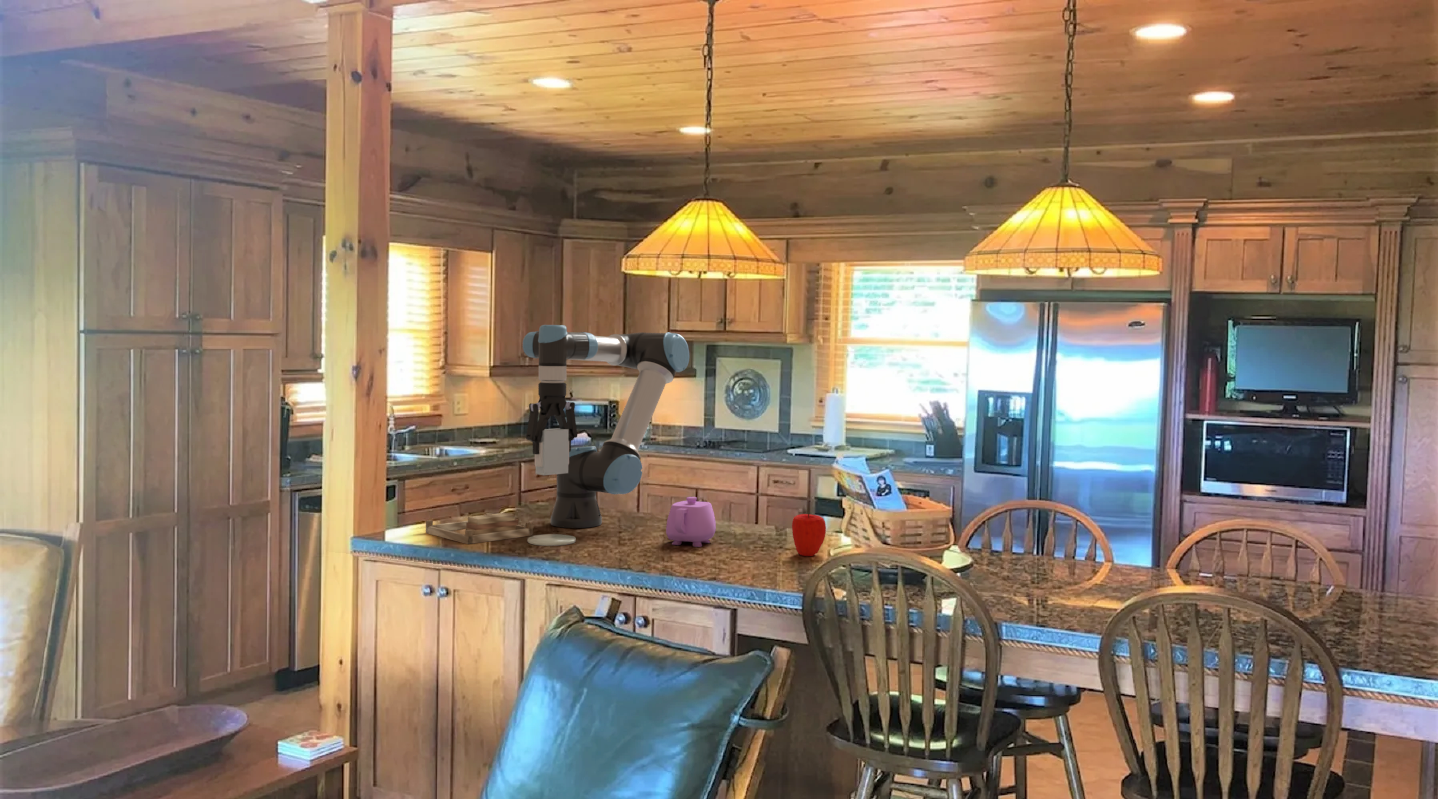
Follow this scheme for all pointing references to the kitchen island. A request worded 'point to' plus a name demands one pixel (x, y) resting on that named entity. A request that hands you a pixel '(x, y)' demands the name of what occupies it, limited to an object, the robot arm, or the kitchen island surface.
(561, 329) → the robot arm
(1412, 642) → the kitchen island surface
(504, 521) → the offcut stack
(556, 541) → the plate
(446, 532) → the rack
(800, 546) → the apple
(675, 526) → the teapot
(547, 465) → the gray rectangular block
